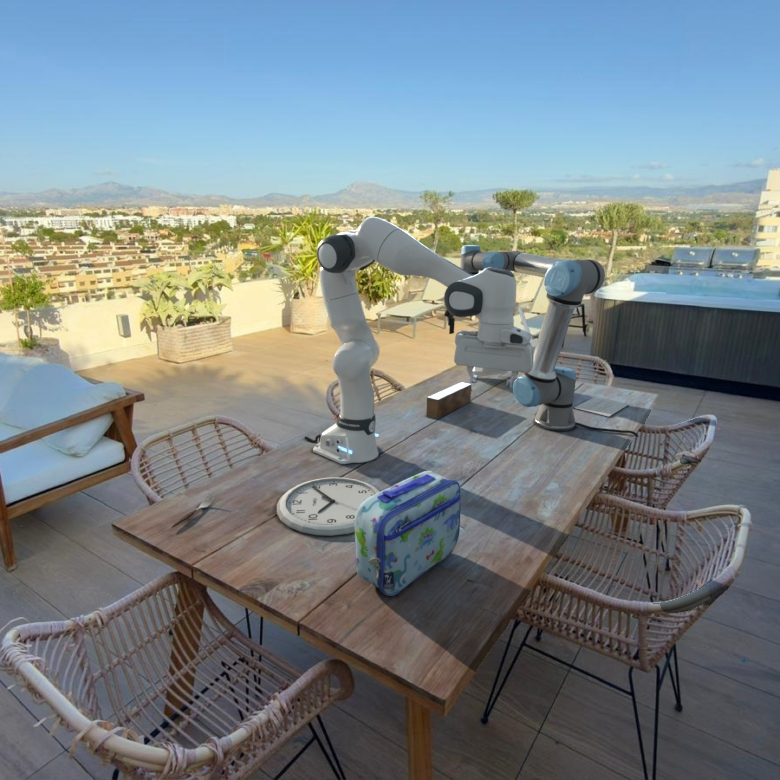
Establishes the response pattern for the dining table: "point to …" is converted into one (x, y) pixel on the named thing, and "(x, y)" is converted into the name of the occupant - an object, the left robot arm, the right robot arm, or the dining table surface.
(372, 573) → the lunch box
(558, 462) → the dining table surface
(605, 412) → the invitation card
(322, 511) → the wall clock
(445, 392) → the bar
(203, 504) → the fork
